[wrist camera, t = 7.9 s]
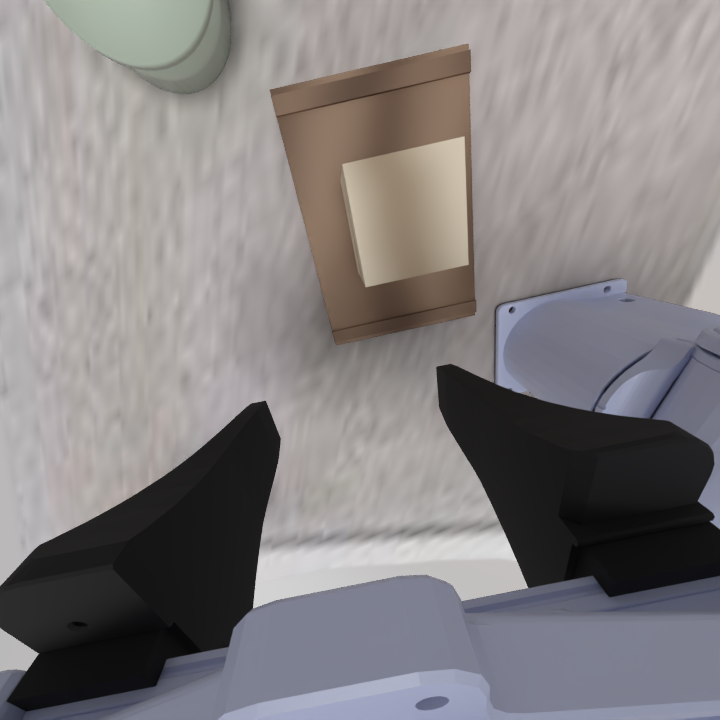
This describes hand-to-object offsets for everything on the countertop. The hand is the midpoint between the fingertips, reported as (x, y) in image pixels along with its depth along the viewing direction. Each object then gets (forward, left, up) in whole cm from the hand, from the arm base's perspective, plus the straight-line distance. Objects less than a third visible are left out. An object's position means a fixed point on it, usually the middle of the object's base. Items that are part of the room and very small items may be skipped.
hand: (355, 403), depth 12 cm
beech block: (-4, -6, -9) cm, 11 cm away
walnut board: (-4, -6, -10) cm, 12 cm away
